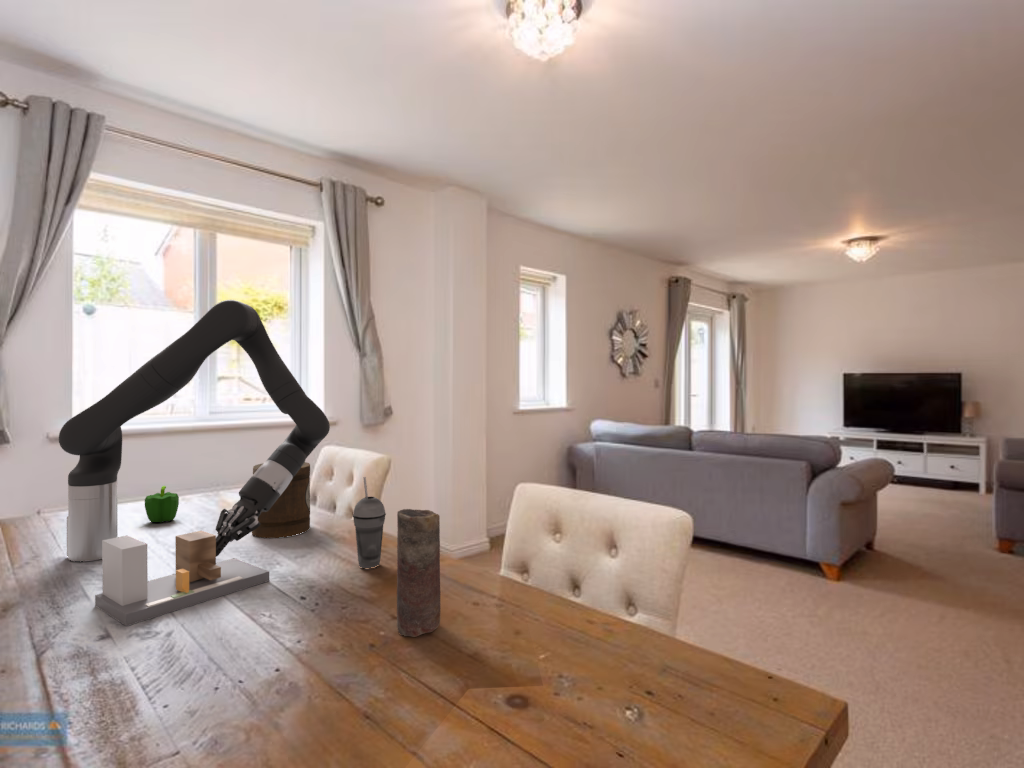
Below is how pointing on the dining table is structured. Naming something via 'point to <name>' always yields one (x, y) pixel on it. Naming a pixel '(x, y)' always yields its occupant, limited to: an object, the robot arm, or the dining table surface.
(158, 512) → the bell pepper
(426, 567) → the rough stone vase
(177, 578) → the pointer
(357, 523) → the beverage cup
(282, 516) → the wooden container
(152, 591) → the gauge base
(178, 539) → the brown block
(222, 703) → the dining table surface
